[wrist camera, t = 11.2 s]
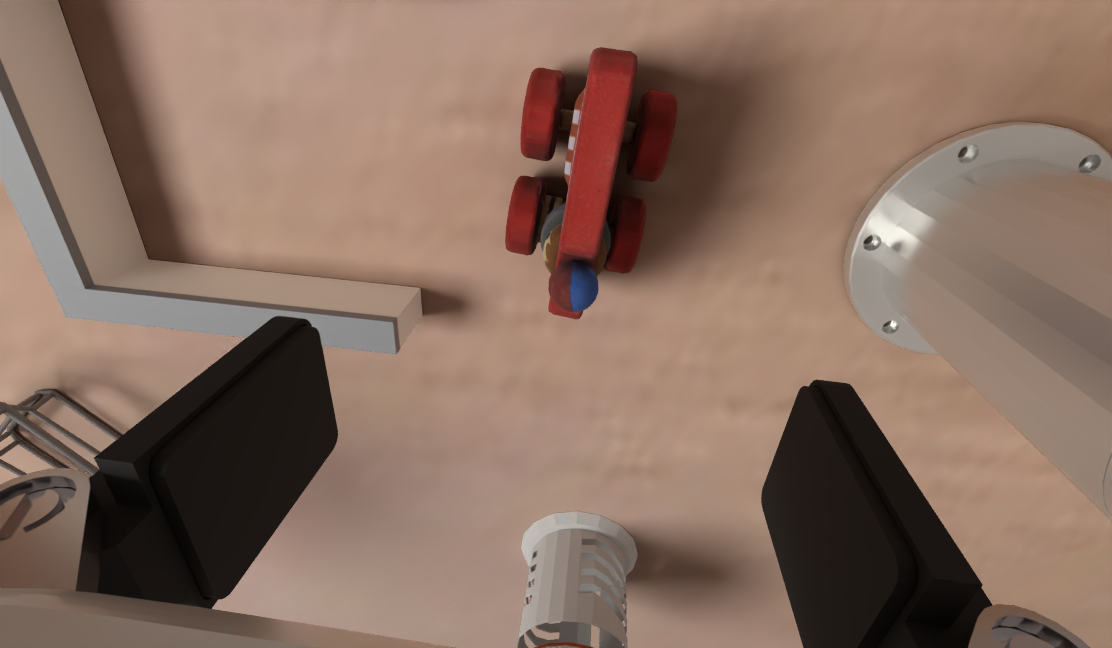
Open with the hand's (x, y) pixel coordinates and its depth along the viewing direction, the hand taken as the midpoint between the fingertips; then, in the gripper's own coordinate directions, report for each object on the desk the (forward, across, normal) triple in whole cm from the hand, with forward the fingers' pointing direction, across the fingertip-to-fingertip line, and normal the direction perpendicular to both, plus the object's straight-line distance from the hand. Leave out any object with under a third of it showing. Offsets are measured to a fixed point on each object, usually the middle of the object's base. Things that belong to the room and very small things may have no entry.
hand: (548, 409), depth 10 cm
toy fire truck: (+21, +1, 0) cm, 21 cm away
